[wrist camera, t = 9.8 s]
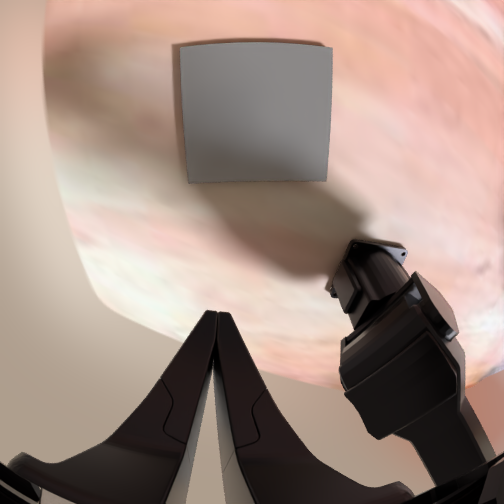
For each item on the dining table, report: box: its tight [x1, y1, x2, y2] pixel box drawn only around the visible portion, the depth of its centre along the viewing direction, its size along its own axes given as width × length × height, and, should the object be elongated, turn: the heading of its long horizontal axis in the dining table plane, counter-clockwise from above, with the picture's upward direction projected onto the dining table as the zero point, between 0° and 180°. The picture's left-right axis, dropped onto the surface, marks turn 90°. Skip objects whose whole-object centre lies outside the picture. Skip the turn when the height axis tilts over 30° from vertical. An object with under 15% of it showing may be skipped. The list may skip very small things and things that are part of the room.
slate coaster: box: [180, 42, 333, 184], centre depth 17 cm, size 10×10×1 cm
